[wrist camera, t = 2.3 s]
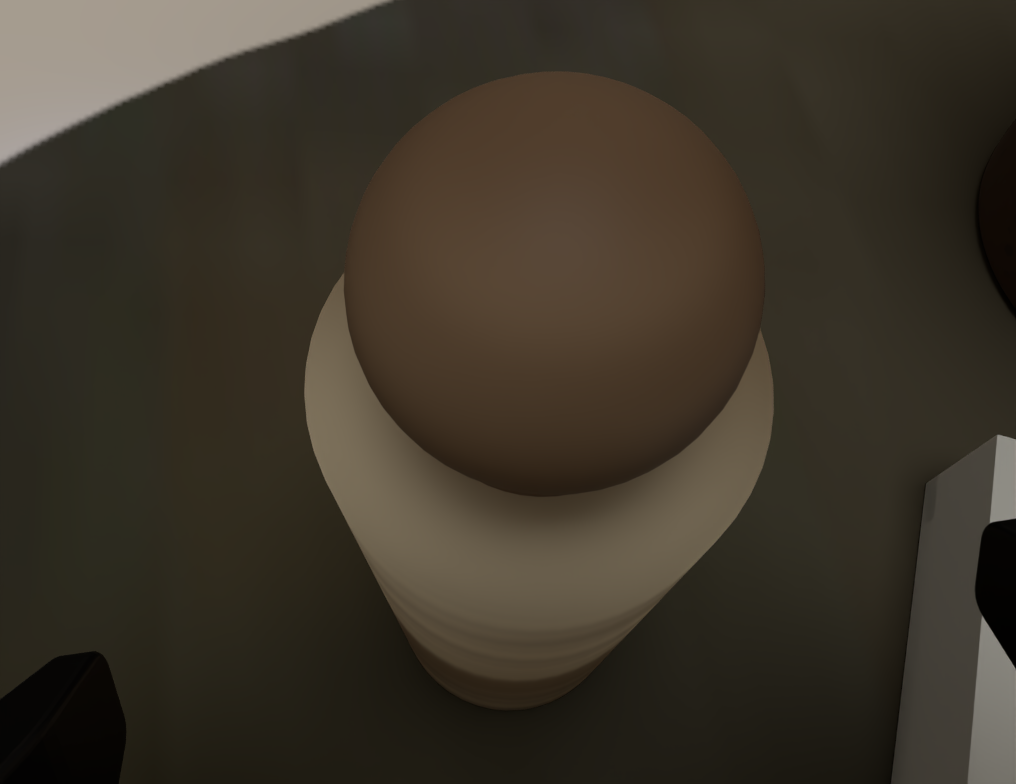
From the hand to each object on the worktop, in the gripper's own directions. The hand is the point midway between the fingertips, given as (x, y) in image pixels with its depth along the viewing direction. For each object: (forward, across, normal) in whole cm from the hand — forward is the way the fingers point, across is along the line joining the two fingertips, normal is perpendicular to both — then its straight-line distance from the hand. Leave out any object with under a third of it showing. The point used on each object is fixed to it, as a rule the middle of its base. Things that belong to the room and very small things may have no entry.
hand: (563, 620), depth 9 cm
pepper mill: (+8, 0, +5) cm, 10 cm away
